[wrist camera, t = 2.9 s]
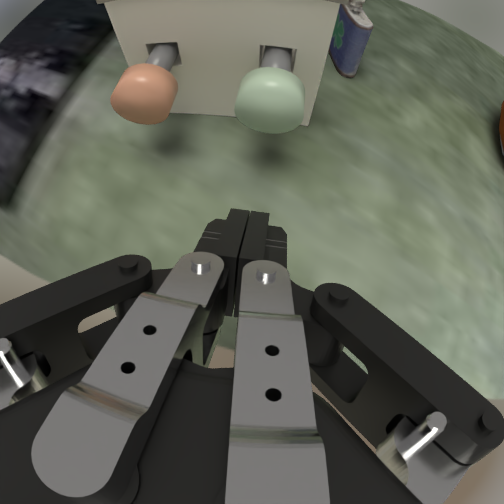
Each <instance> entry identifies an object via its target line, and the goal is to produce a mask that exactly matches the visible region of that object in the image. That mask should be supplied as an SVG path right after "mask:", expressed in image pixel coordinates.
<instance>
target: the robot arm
mask: <svg viewBox="0 0 504 504" xmlns="http://www.w3.org/2000/svg"><path fill="white" fill-rule="evenodd" d="M249 215H250V217H249ZM268 221H269V213H264V212H256V211H251V213H250V211H248V210H240V209H232V208H231V210H230V212H229V214H228V217H227V219H226V220H222V219H215V220H213V221H212V222H210V223H208V225H207V227H206V228H205V230H204V232H203V234H202V237H201V238H200V240H199V242H198V244H197V246H196V248H195V250H194V252H192V253H189V254H186V255H184V256H182V257H181V258H180V259H179V261H178V262H177V263H176V265H175V266H174V268H171V269H159V270H152V267H151V262H150V261H149V260H148V259H147V258H145V257H143V256H140V255H124V256H120V257H117V258H115V259H112V260H109V261H107V262H104V263H102V264H99V265H96V266H94V267H91V268H89V269H86V270H83V271H81V272H78V273H76V274H73V275H71V276H68V277H66V278H63V279H61V280H58V281H56V282H53V283H51V284H48V285H46V286H44V287H41V288H39V289H36V290H34V291H31V292H29V293H26V294H24V295H22V296H20V297H17V298H15V299H12V300H10V301H8V302H5V303H3V304H1V305H0V504H443V503H444V502H445V500H446V499H447V498H448V496H449V495H450V494H451V493H452V491H453V490H454V489H455V487H456V486H457V484H458V483H459V482H460V480H461V479H462V477H463V476H464V474H465V473H466V471H467V470H468V468H469V467H471V466H472V465H474V464H475V463H476V462H478V461H479V460H481V459H482V458H483V457H485V456H486V455H487V454H489V453H490V452H491V451H492V450H494V449H495V448H496V447H497V446H499V445H500V444H501V443H502V441H503V439H504V418H503V416H502V414H501V413H500V412H499V410H498V409H497V408H496V407H495V406H494V405H492V404H491V403H490V402H489V401H488V400H487V399H486V398H484V397H483V396H482V395H481V394H480V393H479V392H477V391H476V390H475V389H474V388H473V387H472V386H470V385H469V384H468V383H467V382H466V381H465V380H463V379H462V378H461V377H460V376H459V375H457V374H456V373H455V372H454V371H453V370H452V369H450V368H449V367H448V366H447V365H446V364H444V363H443V362H442V361H441V360H440V359H438V358H437V357H436V356H435V355H434V354H432V353H431V352H430V351H429V350H427V349H426V348H425V347H424V346H423V345H421V344H420V343H419V342H418V341H416V340H415V339H414V338H413V337H412V336H410V335H409V334H408V333H407V332H405V331H404V330H403V329H402V328H400V327H399V326H398V325H397V324H395V323H394V322H393V321H392V320H390V319H389V318H388V317H387V316H385V315H384V314H383V313H382V312H380V311H379V310H378V309H377V308H375V307H374V306H373V305H371V304H370V303H369V302H368V301H366V300H365V299H364V298H363V297H361V296H360V295H359V294H357V293H356V292H355V291H354V290H352V289H351V288H349V287H347V286H344V285H341V284H337V283H325V284H322V285H320V286H318V287H317V288H316V289H315V291H314V292H313V291H310V290H307V289H305V288H302V287H300V286H298V285H297V284H295V283H294V282H293V281H292V280H291V279H290V275H289V272H288V270H287V234H286V233H285V231H284V230H283V229H282V227H276V226H269V225H268ZM234 304H235V308H234ZM113 305H114V308H115V312H116V316H117V317H115V318H113V319H111V320H109V321H106V322H104V323H102V324H100V325H98V326H95V327H93V328H91V329H89V330H87V331H84V332H82V333H78V325H79V323H80V322H81V321H82V320H83V319H85V318H86V317H89V316H91V315H93V314H95V313H98V312H100V311H102V310H104V309H107V308H109V307H111V306H113ZM233 309H234V317H238V322H237V332H236V343H235V355H234V367H233V368H217V369H216V368H215V369H211V368H208V366H209V363H210V360H211V358H212V355H213V352H214V349H215V347H216V344H217V341H218V338H219V335H220V332H221V325H222V323H223V319H224V315H225V316H232V313H233ZM344 346H345V347H346V348H347V349H348V350H349V351H350V352H352V353H353V354H354V355H355V356H356V357H357V358H358V359H359V360H360V361H361V362H362V363H363V364H364V365H365V366H366V368H367V370H368V374H367V373H366V372H365V371H363V370H362V369H361V368H360V367H359V366H358V365H357V364H356V363H355V362H354V361H353V360H352V359H351V358H350V357H348V356H347V355H346V354H345V353H344V352H343V351H342V350H343V348H344ZM311 382H312V383H313V384H314V385H315V386H316V387H317V388H318V390H320V392H321V393H322V394H323V395H324V396H325V397H326V398H327V399H328V400H329V401H330V402H331V403H332V404H333V405H334V406H335V407H336V408H337V409H338V411H339V412H340V413H341V414H342V415H343V416H344V417H345V418H346V419H347V420H348V421H349V422H350V423H351V424H352V425H353V426H354V427H355V428H356V429H357V430H358V431H359V432H360V433H361V434H362V435H363V436H364V437H365V438H366V439H367V440H368V441H369V442H370V443H371V444H372V445H373V446H374V447H375V448H376V449H377V450H376V454H375V453H374V452H373V451H372V450H371V449H370V448H369V447H368V446H367V445H366V444H365V442H364V441H363V440H362V439H361V438H360V437H359V436H358V435H357V434H356V433H355V432H354V431H353V429H352V428H351V427H350V426H349V425H348V424H347V423H346V422H345V421H344V419H343V418H342V417H341V416H340V415H339V414H338V413H337V412H336V410H335V409H334V408H333V407H332V406H331V405H330V404H329V403H328V402H326V401H325V400H324V399H323V398H322V397H320V396H319V395H317V394H316V393H314V392H312V386H311Z"/></svg>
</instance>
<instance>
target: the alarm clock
mask: <svg viewBox="0 0 504 504" xmlns="http://www.w3.org/2000/svg"><path fill="white" fill-rule="evenodd" d="M499 132H500V141H501V148H502V154H503V155H504V101H503V103H502V106H501V116H500V124H499Z"/></svg>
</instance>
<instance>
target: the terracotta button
mask: <svg viewBox="0 0 504 504" xmlns="http://www.w3.org/2000/svg"><path fill="white" fill-rule="evenodd" d="M178 54H179V48H178V44H177V42H167V43H156V45H155V46H154V48H153V50H152V52H151V53H150V55H149V57H148V59H147V61H146V62H145V63H142V64H136V65H133V66H130V67H129V68H127V69H126V70H125V71H124V73H123V75H122V76H121V78H120V80H119V82H118V84H117V86H116V88H115V90H114V91H113V93H112V95H111V105H112V107H113V109H114V110H115V111H116V112H117V113H118V114H119V115H120V116H122V117H123V118H125V119H127V120H129V121H132V122H135V123H139V124H146V125H151V124H157V123H160V122H162V121H164V120H165V119H166V118H167V117H168V116H169V113H170V110H171V108H172V105H173V102H174V100H175V97H176V95H177V92H178V83H177V81H176V79H175V77H174V76H173V75H172V74H171V73H170V71H171V69H172V66H173V64H174V62H175V60H176V58H177V56H178Z"/></svg>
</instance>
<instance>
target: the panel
mask: <svg viewBox="0 0 504 504" xmlns="http://www.w3.org/2000/svg"><path fill="white" fill-rule="evenodd" d="M96 1H97V4H100V3H104V4H105V7H106V9H107V12H108V15H109V17H110V20H111V22H112V25H113V28H114V30H115V33H116V35H117V38H118V41H119V43H120V46H121V48H122V51H123V53H124V56H125V58H126V61H127V63H128V66H129V67H130V66H133V65H136V64H142V63H145V62H146V61H147V59H148V57H149V55H150V53H151V52H152V50H153V48H154V46H155V45H156V43H167V42H177V44H178V48H179V54H178V56H177V58H176V60H175V62H174V64H173V66H172V69H171V71H170V73H171V74H172V75H173V76H174V77H175V79H176V81H177V83H178V92H177V95H176V97H175V100H174V102H173V105H172V108H171V110H170V113H186V114H205V115H219V116H231V117H236V115H235V111H234V107H235V103H236V98H237V94H238V90H239V86H240V82H241V80H242V78H243V77H244V76H245V75H246V74H247V73H248V72H250V71H252V70H254V69H258V68H261V64H262V59H263V54H264V50H265V45H268V46H277V47H285V48H292V59H291V69H290V72H291V73H293V74H294V75H296V76H297V77H298V78H299V79H300V80H301V82H302V83H303V85H304V88H305V103H304V117H303V121H302V123H301V124H300V125H303V126H308V125H309V121H310V117H311V114H312V110H313V106H314V103H315V99H316V95H317V91H318V88H319V84H320V80H321V76H322V73H323V69H324V65H325V61H326V57H327V54H328V50H329V46H330V42H331V38H332V34H333V30H334V26H335V22H336V18H337V14H338V10H339V6H340V4H344V5H348V2H349V0H96Z"/></svg>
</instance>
